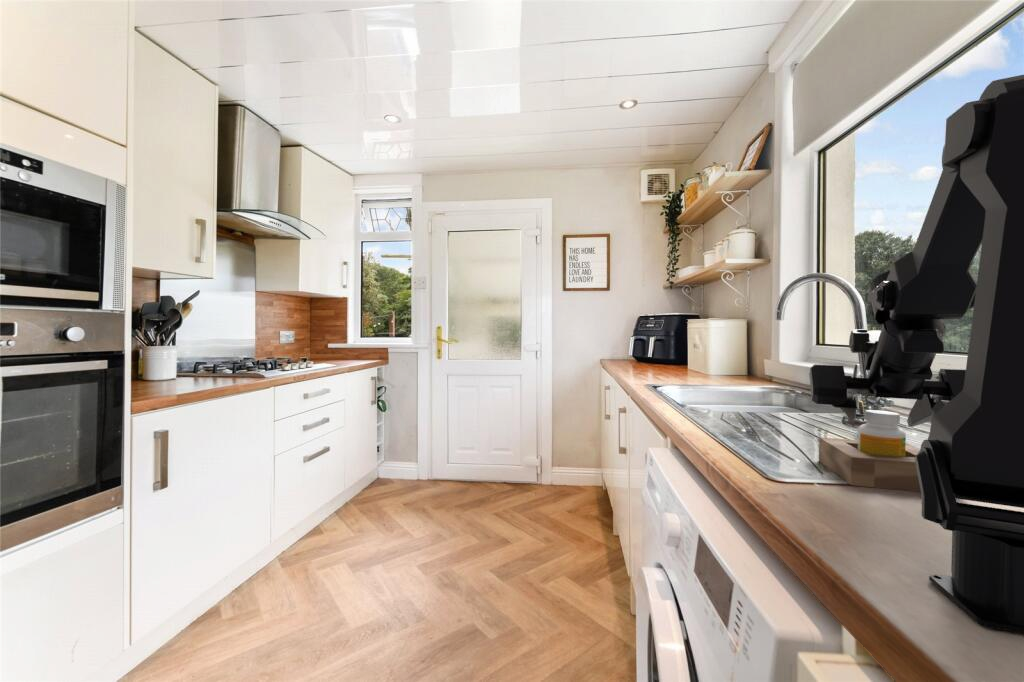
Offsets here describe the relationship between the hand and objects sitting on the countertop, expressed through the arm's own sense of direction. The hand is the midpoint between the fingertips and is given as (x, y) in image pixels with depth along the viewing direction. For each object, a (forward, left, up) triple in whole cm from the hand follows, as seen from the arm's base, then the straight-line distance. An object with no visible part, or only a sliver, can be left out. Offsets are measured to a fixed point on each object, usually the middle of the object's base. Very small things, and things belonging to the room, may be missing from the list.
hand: (879, 421), depth 65 cm
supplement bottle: (-2, 0, -8) cm, 8 cm away
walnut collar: (-1, 0, -8) cm, 8 cm away
